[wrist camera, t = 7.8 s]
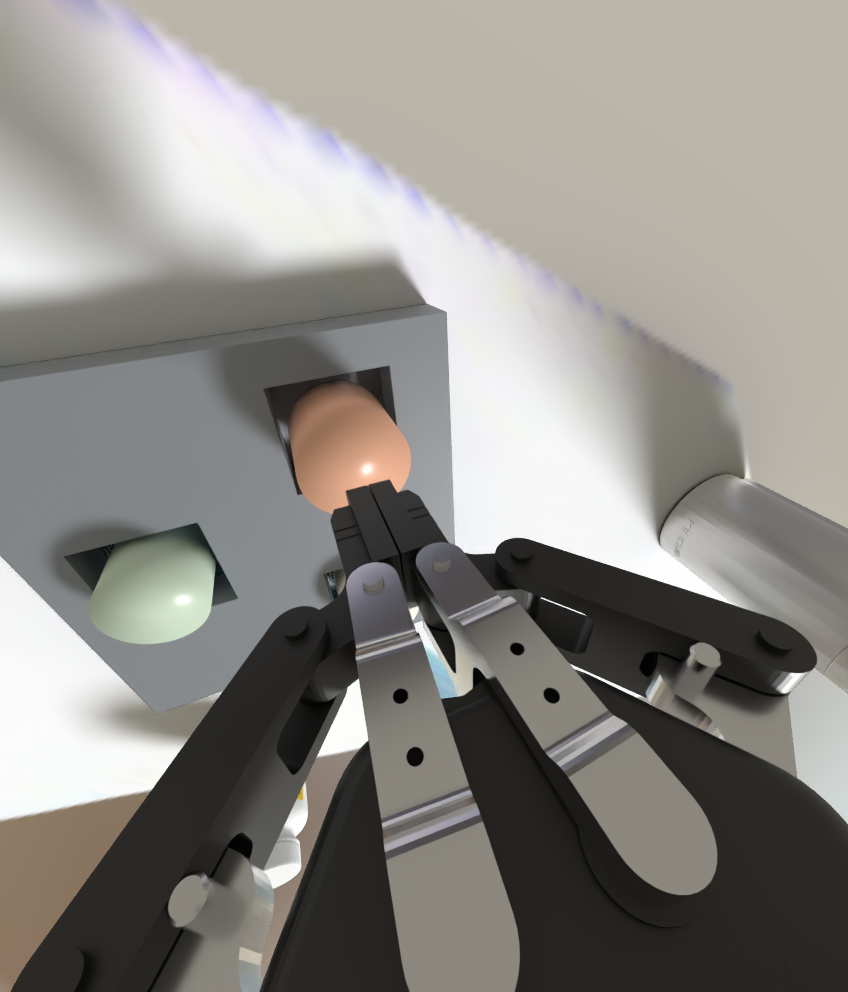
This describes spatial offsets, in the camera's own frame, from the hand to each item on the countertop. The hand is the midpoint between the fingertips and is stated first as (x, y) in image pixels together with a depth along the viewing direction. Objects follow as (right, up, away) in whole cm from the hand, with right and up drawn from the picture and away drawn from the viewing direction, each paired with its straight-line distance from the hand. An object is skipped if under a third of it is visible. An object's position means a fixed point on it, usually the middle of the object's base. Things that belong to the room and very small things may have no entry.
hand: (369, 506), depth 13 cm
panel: (-7, -1, +9) cm, 11 cm away
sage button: (-12, -3, +7) cm, 14 cm away
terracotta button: (-2, +4, +5) cm, 7 cm away
